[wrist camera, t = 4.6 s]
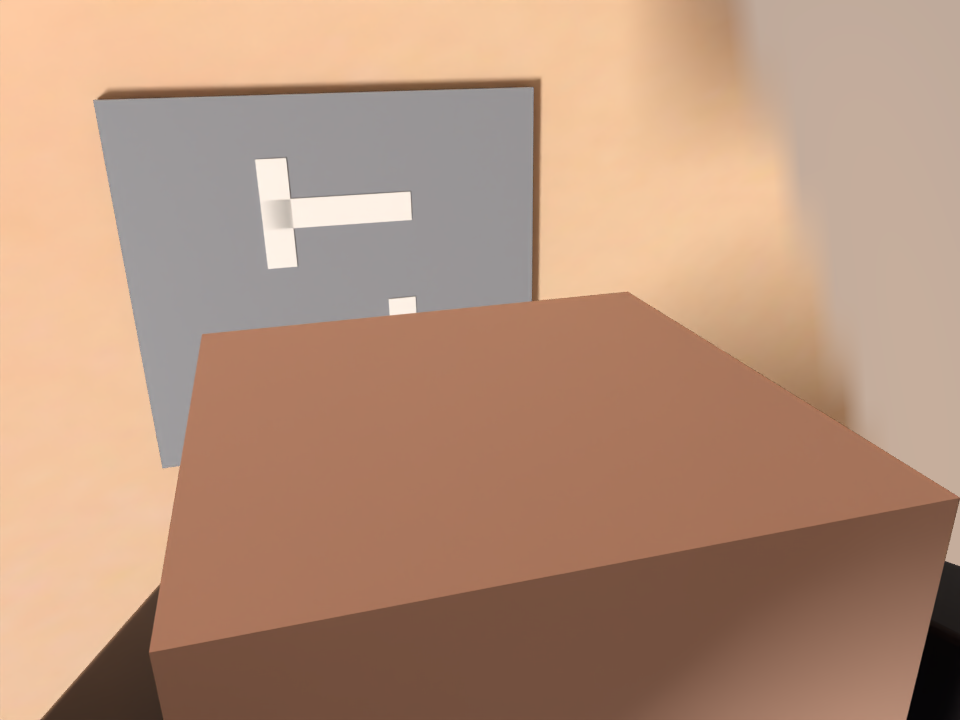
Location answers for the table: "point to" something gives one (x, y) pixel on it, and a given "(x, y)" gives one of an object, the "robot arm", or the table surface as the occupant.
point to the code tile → (311, 214)
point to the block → (532, 529)
